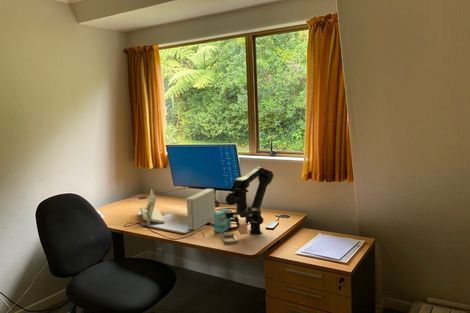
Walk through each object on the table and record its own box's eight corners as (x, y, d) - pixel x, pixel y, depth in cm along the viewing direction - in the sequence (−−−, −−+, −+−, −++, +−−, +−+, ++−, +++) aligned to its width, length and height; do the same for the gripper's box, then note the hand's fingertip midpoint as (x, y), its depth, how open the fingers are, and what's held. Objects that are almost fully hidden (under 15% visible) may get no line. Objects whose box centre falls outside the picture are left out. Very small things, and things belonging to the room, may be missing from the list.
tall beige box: (237, 230, 213) (237, 220, 212) (244, 229, 213) (244, 219, 212) (240, 234, 205) (240, 224, 204) (247, 234, 206) (247, 223, 205)
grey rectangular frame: (221, 237, 213) (221, 234, 213) (234, 236, 214) (234, 233, 214) (224, 244, 202) (224, 242, 202) (238, 243, 203) (238, 240, 203)
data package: (220, 233, 219) (219, 214, 218) (214, 232, 222) (213, 213, 220) (231, 227, 229) (230, 209, 228) (225, 226, 232) (224, 208, 230)
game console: (187, 229, 229) (185, 198, 226) (207, 216, 253) (206, 188, 251) (195, 230, 226) (193, 199, 224) (215, 217, 251) (214, 189, 248)
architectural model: (132, 223, 236) (141, 191, 235) (130, 211, 263) (138, 182, 263) (163, 228, 243) (172, 197, 242) (158, 216, 270) (166, 188, 269)
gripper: (227, 206, 197) (228, 234, 199) (261, 203, 200) (262, 230, 203) (224, 201, 208) (225, 227, 210) (256, 198, 211) (256, 224, 213)
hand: (242, 227), depth 209 cm, fingers closed on tall beige box, 4 cm apart
